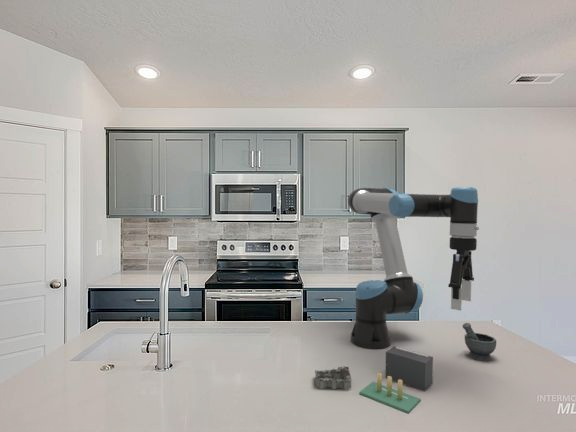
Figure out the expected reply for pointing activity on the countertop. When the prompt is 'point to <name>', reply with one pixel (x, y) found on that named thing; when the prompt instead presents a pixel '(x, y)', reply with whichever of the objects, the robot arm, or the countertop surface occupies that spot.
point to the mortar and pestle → (479, 343)
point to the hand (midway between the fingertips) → (461, 304)
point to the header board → (390, 394)
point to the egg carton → (325, 377)
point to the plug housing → (409, 367)
